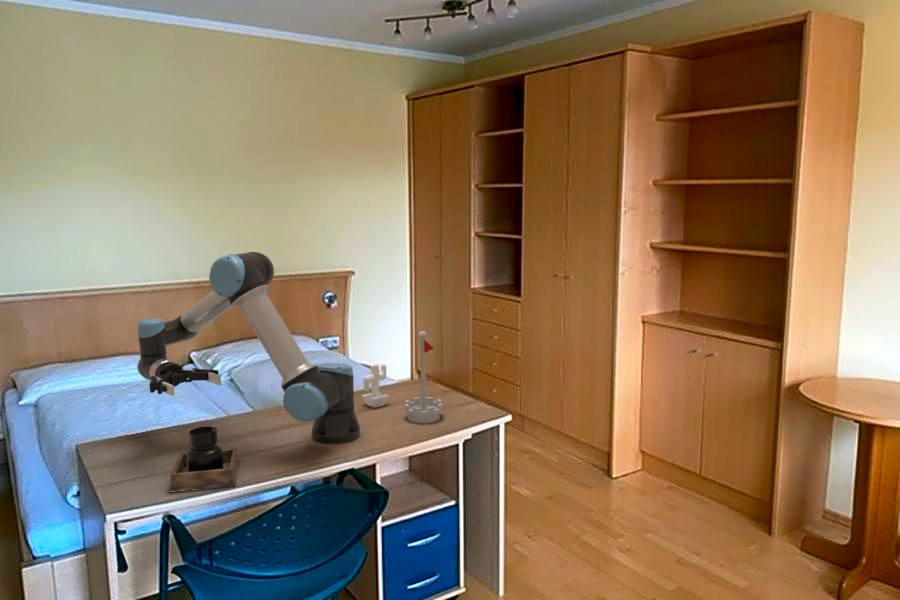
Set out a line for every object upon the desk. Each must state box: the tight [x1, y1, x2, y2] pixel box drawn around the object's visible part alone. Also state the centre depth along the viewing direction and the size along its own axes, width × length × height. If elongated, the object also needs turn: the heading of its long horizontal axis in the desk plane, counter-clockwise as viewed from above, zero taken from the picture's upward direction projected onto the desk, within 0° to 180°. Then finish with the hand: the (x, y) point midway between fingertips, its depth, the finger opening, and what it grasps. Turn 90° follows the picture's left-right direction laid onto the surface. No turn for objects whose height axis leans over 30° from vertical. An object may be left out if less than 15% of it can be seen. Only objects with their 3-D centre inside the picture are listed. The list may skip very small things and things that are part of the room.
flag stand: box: [403, 330, 444, 424], centre depth 223 cm, size 13×13×30 cm
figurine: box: [361, 363, 390, 408], centre depth 239 cm, size 7×9×15 cm
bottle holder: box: [169, 448, 241, 492], centre depth 178 cm, size 16×16×4 cm
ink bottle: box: [186, 425, 223, 472], centre depth 178 cm, size 10×9×12 cm
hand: (197, 385), depth 189 cm, fingers open, 13 cm apart
